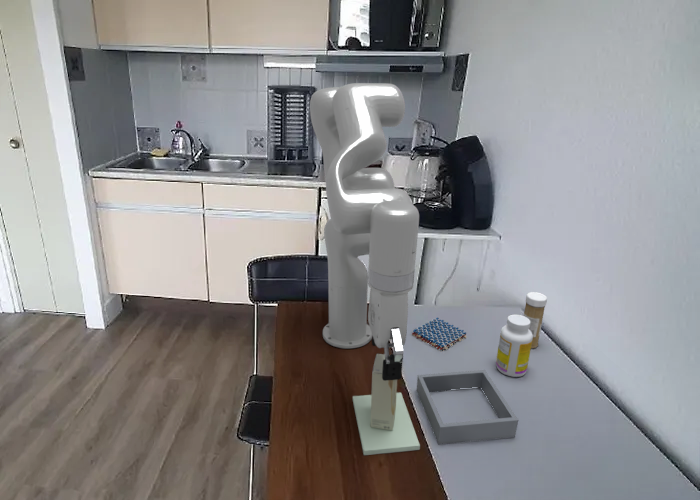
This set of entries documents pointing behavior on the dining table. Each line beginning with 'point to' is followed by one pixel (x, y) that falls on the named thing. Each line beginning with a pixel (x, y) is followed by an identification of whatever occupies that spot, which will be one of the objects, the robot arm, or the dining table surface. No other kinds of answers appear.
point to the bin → (469, 429)
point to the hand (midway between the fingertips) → (385, 360)
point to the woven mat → (439, 333)
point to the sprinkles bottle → (535, 314)
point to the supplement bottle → (514, 346)
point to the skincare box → (382, 397)
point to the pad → (382, 438)
